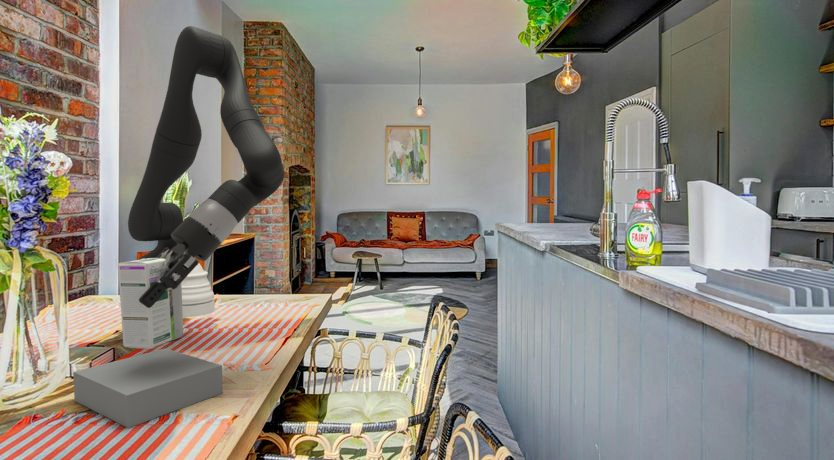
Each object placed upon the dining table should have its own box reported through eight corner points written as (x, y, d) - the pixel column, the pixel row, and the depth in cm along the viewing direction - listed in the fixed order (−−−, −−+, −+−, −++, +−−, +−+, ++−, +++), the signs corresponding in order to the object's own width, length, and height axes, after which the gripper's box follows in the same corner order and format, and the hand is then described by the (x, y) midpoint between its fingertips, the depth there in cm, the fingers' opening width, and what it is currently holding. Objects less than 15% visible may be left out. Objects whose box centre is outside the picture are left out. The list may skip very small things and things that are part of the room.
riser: (74, 400, 84) (73, 371, 84) (166, 373, 98) (165, 348, 97) (128, 428, 74) (126, 395, 74) (222, 393, 88) (221, 365, 87)
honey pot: (181, 307, 157) (179, 250, 155) (221, 307, 156) (220, 250, 155) (158, 317, 144) (156, 255, 143) (202, 317, 143) (200, 255, 142)
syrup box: (152, 349, 82) (148, 262, 81) (121, 347, 83) (117, 261, 82) (175, 339, 88) (172, 257, 87) (146, 338, 89) (142, 257, 88)
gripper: (178, 214, 94) (110, 282, 87) (202, 216, 83) (128, 293, 77) (208, 240, 98) (145, 307, 91) (235, 245, 87) (166, 321, 80)
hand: (137, 300), depth 84 cm, fingers closed on syrup box, 7 cm apart
